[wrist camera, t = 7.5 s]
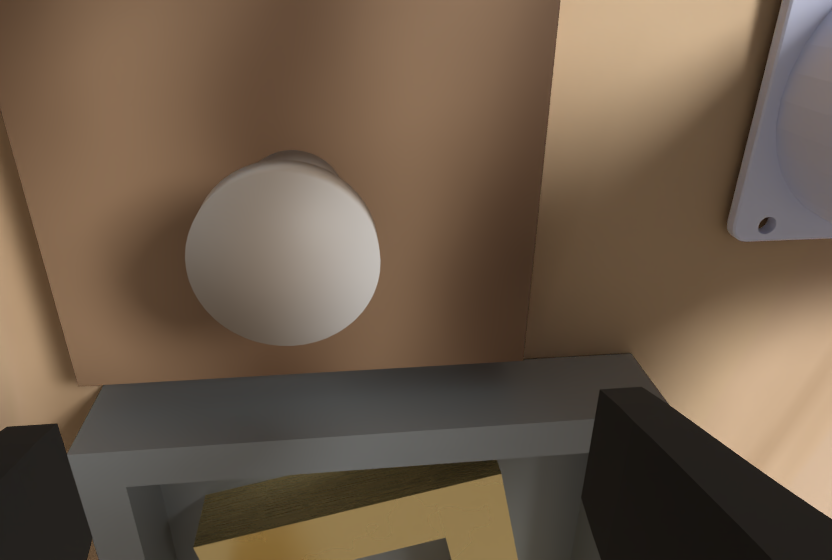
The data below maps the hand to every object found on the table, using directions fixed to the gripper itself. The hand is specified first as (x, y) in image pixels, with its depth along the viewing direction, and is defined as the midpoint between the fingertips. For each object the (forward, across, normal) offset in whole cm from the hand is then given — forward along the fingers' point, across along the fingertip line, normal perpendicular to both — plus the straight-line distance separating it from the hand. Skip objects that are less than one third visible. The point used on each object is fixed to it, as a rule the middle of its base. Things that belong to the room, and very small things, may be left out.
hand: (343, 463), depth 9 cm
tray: (+9, -1, +13) cm, 16 cm away
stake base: (+9, +1, -1) cm, 10 cm away
